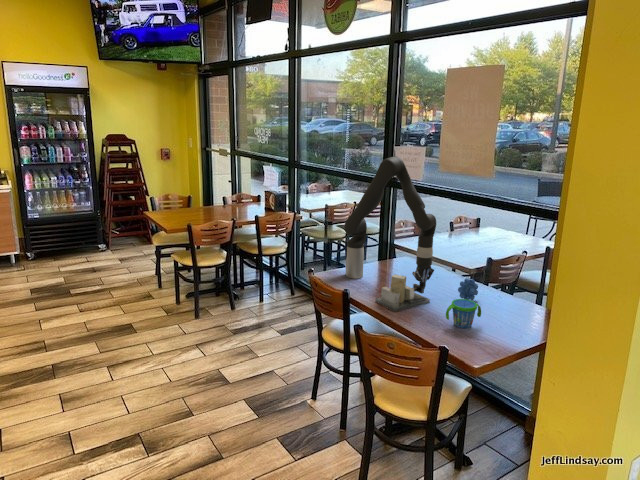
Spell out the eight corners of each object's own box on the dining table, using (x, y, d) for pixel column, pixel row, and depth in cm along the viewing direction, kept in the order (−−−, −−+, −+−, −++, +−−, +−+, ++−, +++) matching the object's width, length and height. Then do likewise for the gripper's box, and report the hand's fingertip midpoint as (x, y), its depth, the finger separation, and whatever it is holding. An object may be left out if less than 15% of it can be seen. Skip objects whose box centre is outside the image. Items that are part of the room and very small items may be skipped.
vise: (375, 301, 232) (376, 286, 230) (409, 293, 244) (410, 279, 242) (394, 311, 221) (395, 296, 219) (429, 302, 232) (430, 287, 230)
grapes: (462, 305, 228) (464, 282, 225) (454, 300, 235) (456, 277, 231) (482, 302, 232) (485, 279, 229) (473, 297, 239) (476, 274, 235)
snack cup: (449, 331, 202) (451, 308, 199) (440, 320, 212) (442, 299, 209) (485, 329, 203) (487, 307, 201) (474, 319, 214) (477, 298, 211)
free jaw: (395, 295, 236) (396, 283, 234) (412, 291, 241) (413, 279, 240) (409, 302, 227) (410, 290, 226) (426, 297, 233) (427, 286, 232)
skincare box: (389, 300, 230) (390, 276, 226) (392, 297, 233) (394, 273, 230) (402, 303, 227) (403, 278, 223) (405, 300, 230) (406, 276, 227)
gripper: (420, 259, 227) (417, 293, 231) (440, 254, 233) (437, 288, 238) (409, 255, 233) (407, 288, 237) (428, 251, 240) (426, 283, 244)
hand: (422, 288), depth 238 cm, fingers closed
